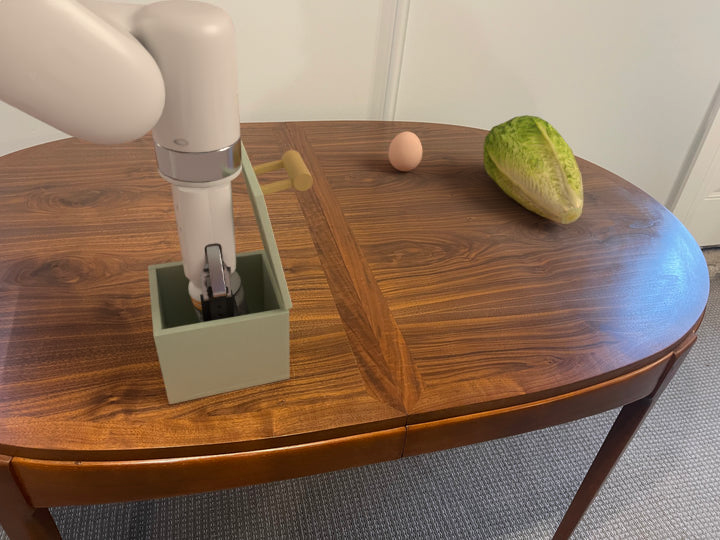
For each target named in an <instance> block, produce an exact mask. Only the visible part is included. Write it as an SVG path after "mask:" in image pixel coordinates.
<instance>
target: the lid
mask: <svg viewBox="0 0 720 540" xmlns="http://www.w3.org/2000/svg"><path fill="white" fill-rule="evenodd" d="M241 153H242V171H241V173H242V176H243V180H244V183H245V188H246V191H247V194H248V198H249V201H250V205H251V208H252V211H253V216H254V218H255V222H256V226H257V229H258V232H259V236H260V240H261V243H262V247H263V250H265V253H266V255H267V258H268V261H269V264H270V267H271V270H272V272H273V275H274V278H275V281H276V284H277V287H278V289H279V292H280V295H281V298H282V301H283V304H284V307H285V309H286V310H287V309H288V310H291V309H293V302H292V299H291V295H290V292H289V288H288V284H287V280H286V276H285V273H284V269H283V265H282V260H281V257H280V253H279V249H278V245H277V242H276V237H275V234H274V231H273V227H272V223H271V219H270V216H269V212H268V207H267V204H266V200H265V196H267V195H270V194H274V193H278V192H281V191H285V190H289V189H292V188H293V189H294V190H296V191H298V192H305V191H308V190H310V188H312V186H313V184H314V178H313V175H312V174H311V172H310V171H309V169H308V167H307V165H306V163H305V161H304V160H303V157H302V156H301V155H300V153H299V152H298V151H297V150H294V149H289V150H286V151H284V153H283V154H282V156H281V159H277V160H273V161H268V162H264V163H262V164H257V165H254V166H253V165H252V164H251V161H250V158H249V156H248V153H247V150H246V149H245V145H244V143H243V141H242V139H241ZM281 169H284V171H285V172H286V175H287V176H288V178H286V179H282V180H279V181H274V182H271V183H268V184H264V185H260V183H259V180H258V177H257V176H258V175H263V174H266V173H270V172H274V171H278V170H281Z"/></svg>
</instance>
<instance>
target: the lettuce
mask: <svg viewBox="0 0 720 540" xmlns="http://www.w3.org/2000/svg"><path fill="white" fill-rule="evenodd" d="M482 151H483V152H482V153H483V157H482V158H483V168H484V170H485V172H486V173H487V175H488V176H489V177H490V179H492V181H493V182H494V183H495V184H496V185H497V186H498V187H499V188H500V189H501V190H502V191H503V193H504V194H505V195H507V196H508V197H509V198H511V199H513V200H514V201H516V202H517V203H518V204H520V205H521V206H522V207H524V208H525V209H526V210H528V211H531V212H532V213H534V214H536V215H538V216H540V217H543V218H545V219H548V220H550V221H553V222H555V223H557V224H563V225H570V224H572V223H574V222H575V221H577V220H578V219H579V218H580V217H581V215H582V213H583V211H582V210H583V207H584V184H583V177H582V173H581V170H580V168H579V165H578V162H577V159H576V157H575V154H574V152H573V149H572V148H571V147H570V145H569V144H568V143H567V141H566V140H565V139H564V137H563V136H562V135H561V134H560V132H559V131H558V130H557V129H556V128H555V127H554V126H553V125H552V124H550V123H549V122H548V121H547V120H545V119H543V118H541V117H539V116H534V115H528V114H525V115H517V116H515V117H512V118H510V119H509V120H506V121H504V122H502V123H499V124H497V125H494V126H492V127H491V129H490V130H489V131H488V133H487V134H486V136H485V137H484V141H483V149H482Z"/></svg>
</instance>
